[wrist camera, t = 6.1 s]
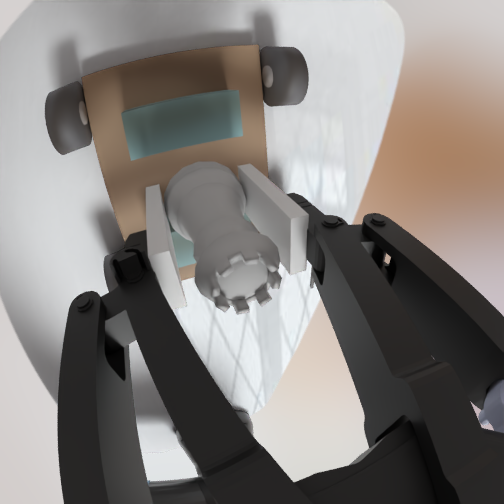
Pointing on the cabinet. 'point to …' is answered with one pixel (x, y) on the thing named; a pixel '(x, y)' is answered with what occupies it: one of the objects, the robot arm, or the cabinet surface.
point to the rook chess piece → (222, 237)
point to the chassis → (174, 122)
